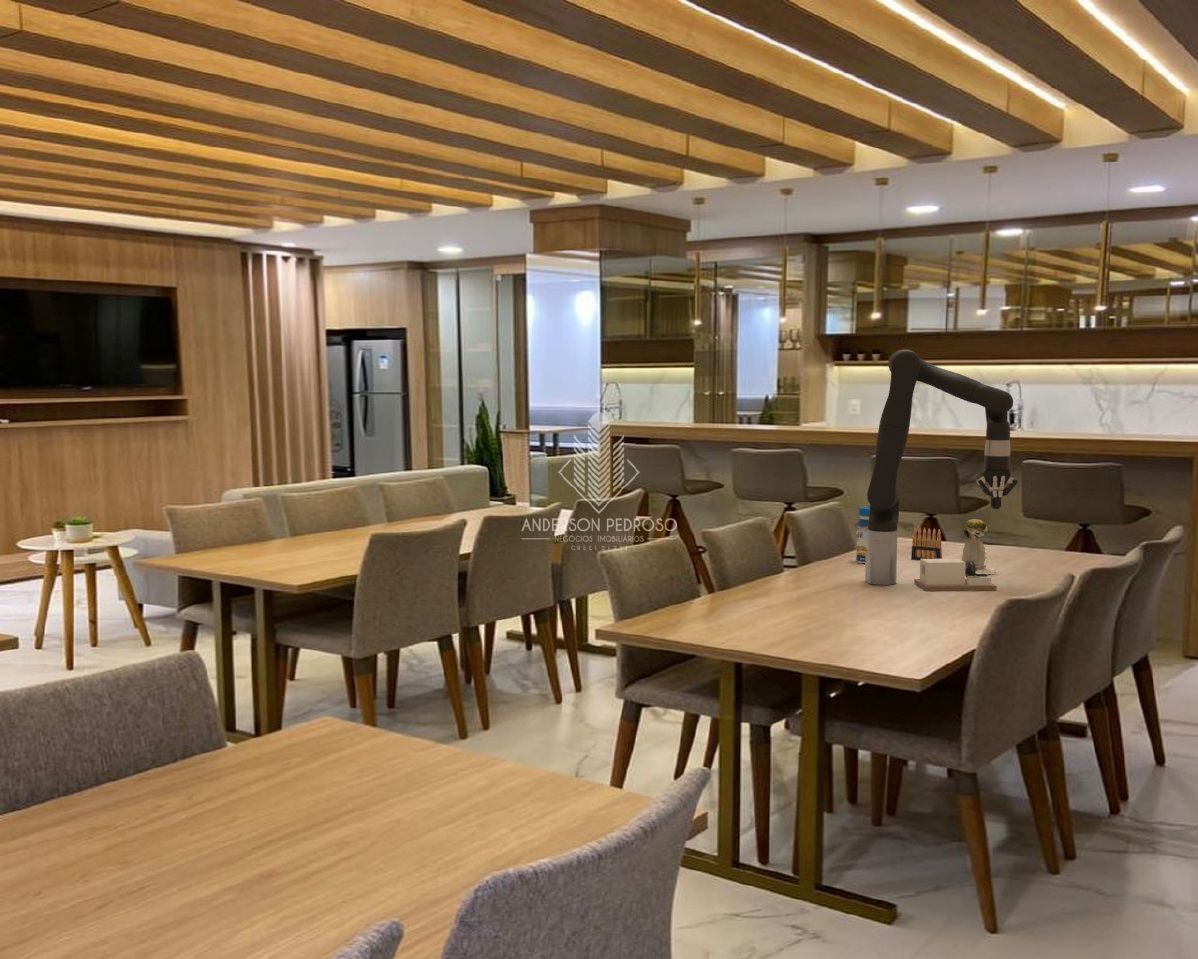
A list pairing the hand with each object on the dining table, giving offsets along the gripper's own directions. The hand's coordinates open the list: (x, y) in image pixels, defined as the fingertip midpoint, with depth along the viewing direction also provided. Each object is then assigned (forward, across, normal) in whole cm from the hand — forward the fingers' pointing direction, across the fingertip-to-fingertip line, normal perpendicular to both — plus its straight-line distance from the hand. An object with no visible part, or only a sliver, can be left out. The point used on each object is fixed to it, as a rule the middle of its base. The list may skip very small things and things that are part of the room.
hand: (995, 508), depth 332 cm
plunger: (+22, -14, -3) cm, 26 cm away
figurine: (+25, +2, +22) cm, 33 cm away
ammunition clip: (+25, -7, +47) cm, 54 cm away
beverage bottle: (+25, -29, +44) cm, 58 cm away
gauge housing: (+25, -13, -2) cm, 28 cm away
